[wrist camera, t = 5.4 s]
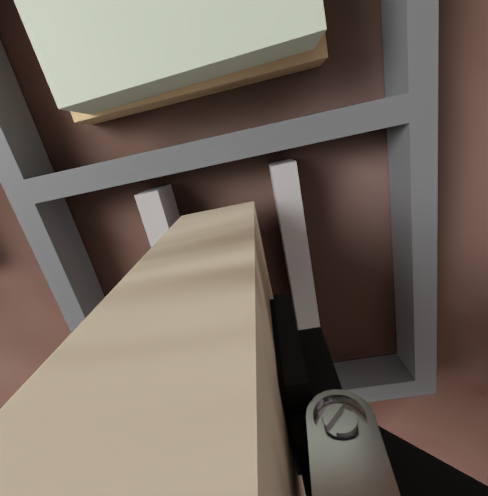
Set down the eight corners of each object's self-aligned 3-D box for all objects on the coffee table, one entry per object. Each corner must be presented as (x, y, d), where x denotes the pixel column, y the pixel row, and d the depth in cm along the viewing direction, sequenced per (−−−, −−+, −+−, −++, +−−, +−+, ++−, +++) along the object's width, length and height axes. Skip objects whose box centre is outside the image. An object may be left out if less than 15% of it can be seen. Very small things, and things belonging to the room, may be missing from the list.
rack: (-55, -30, 11) (-116, -64, 10) (404, -173, 10) (440, -249, 8) (132, 404, 18) (118, 433, 17) (416, 365, 17) (436, 393, 15)
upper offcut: (38, -21, 10) (-11, -58, 8) (290, -110, 9) (299, -175, 7) (89, 114, 12) (58, 109, 10) (313, 49, 11) (326, 29, 9)
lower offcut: (52, -5, 12) (15, -33, 10) (298, -81, 11) (307, -126, 9) (99, 125, 14) (74, 122, 12) (317, 69, 13) (327, 56, 11)
